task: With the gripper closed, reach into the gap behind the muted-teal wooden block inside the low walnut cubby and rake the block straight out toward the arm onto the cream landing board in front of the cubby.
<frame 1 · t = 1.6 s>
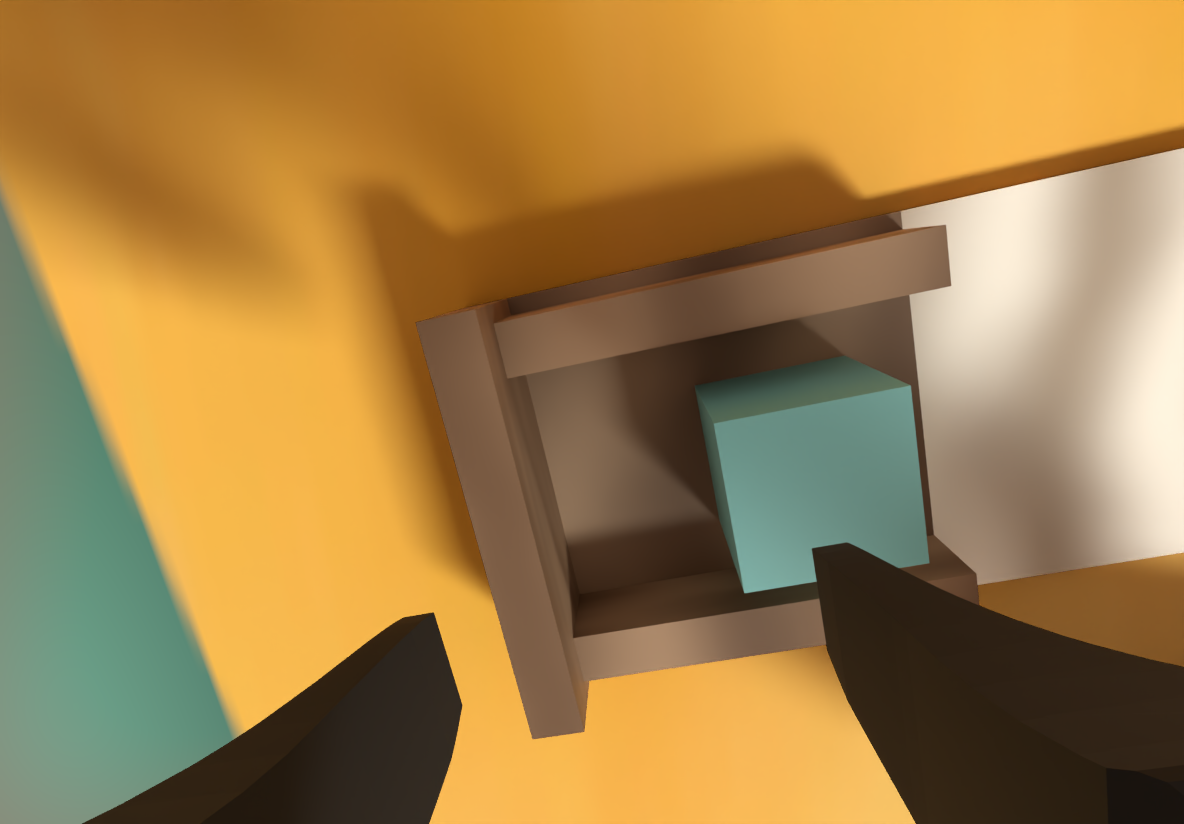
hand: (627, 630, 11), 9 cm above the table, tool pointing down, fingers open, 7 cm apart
cubby: (720, 446, 20), on the table
teal block: (779, 441, 19), point 1 cm above the table, touching cubby
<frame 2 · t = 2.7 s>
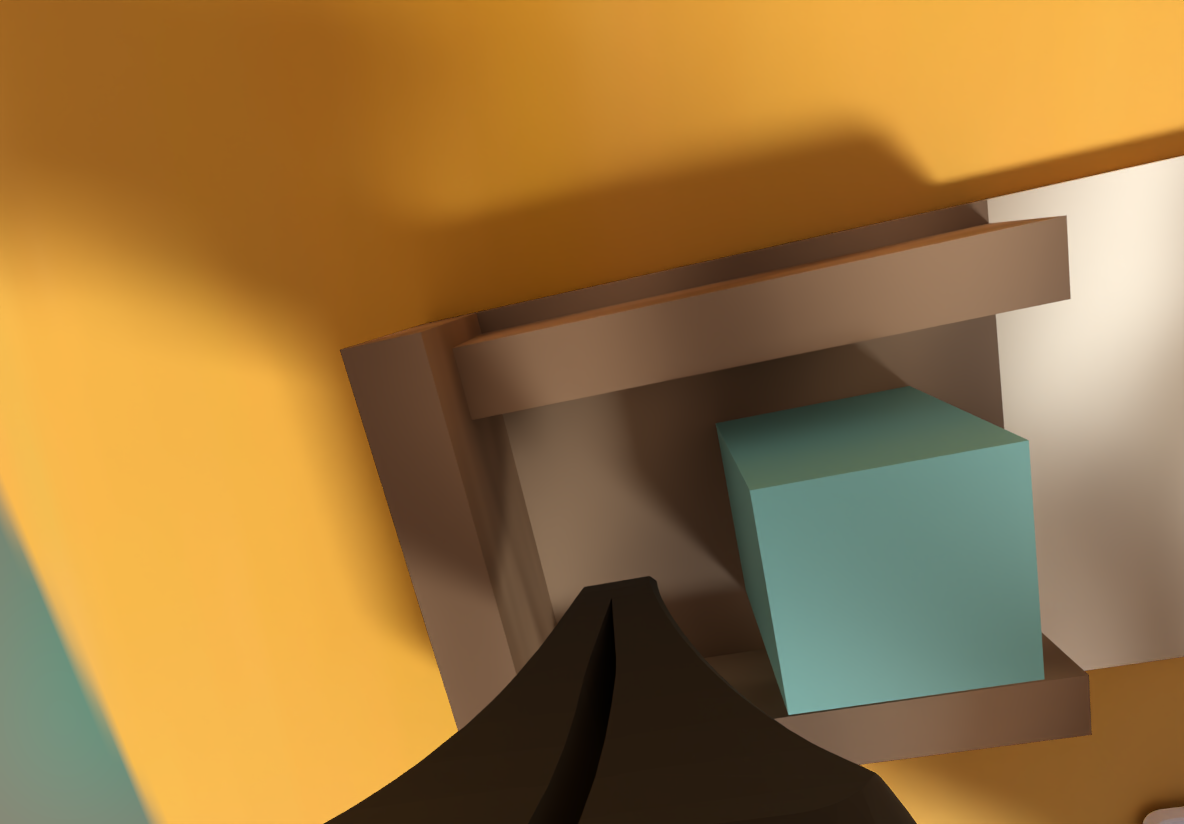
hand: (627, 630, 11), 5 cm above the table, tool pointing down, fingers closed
cubby: (747, 496, 16), on the table
teal block: (823, 493, 15), point 1 cm above the table, touching cubby
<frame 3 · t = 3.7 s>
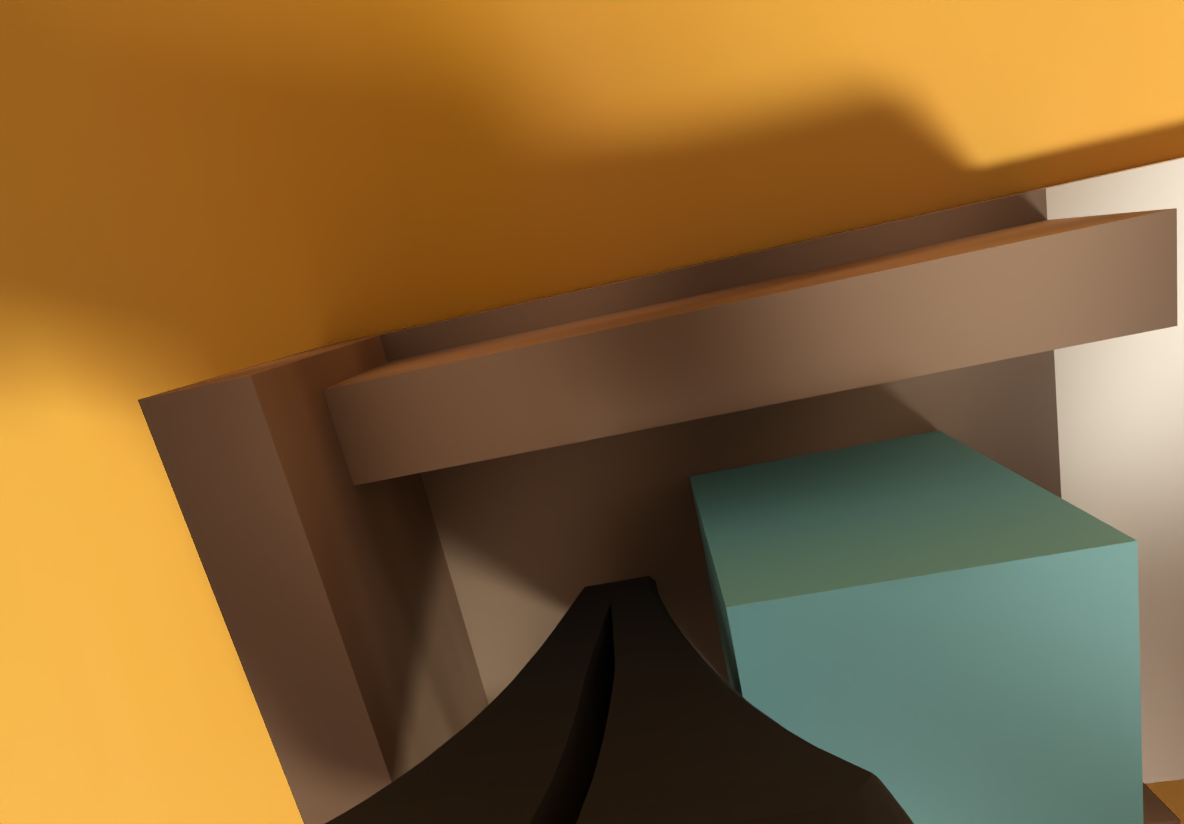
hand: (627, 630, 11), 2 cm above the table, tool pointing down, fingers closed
cubby: (731, 564, 13), on the table
teal block: (827, 564, 12), point 1 cm above the table, touching cubby, gripper
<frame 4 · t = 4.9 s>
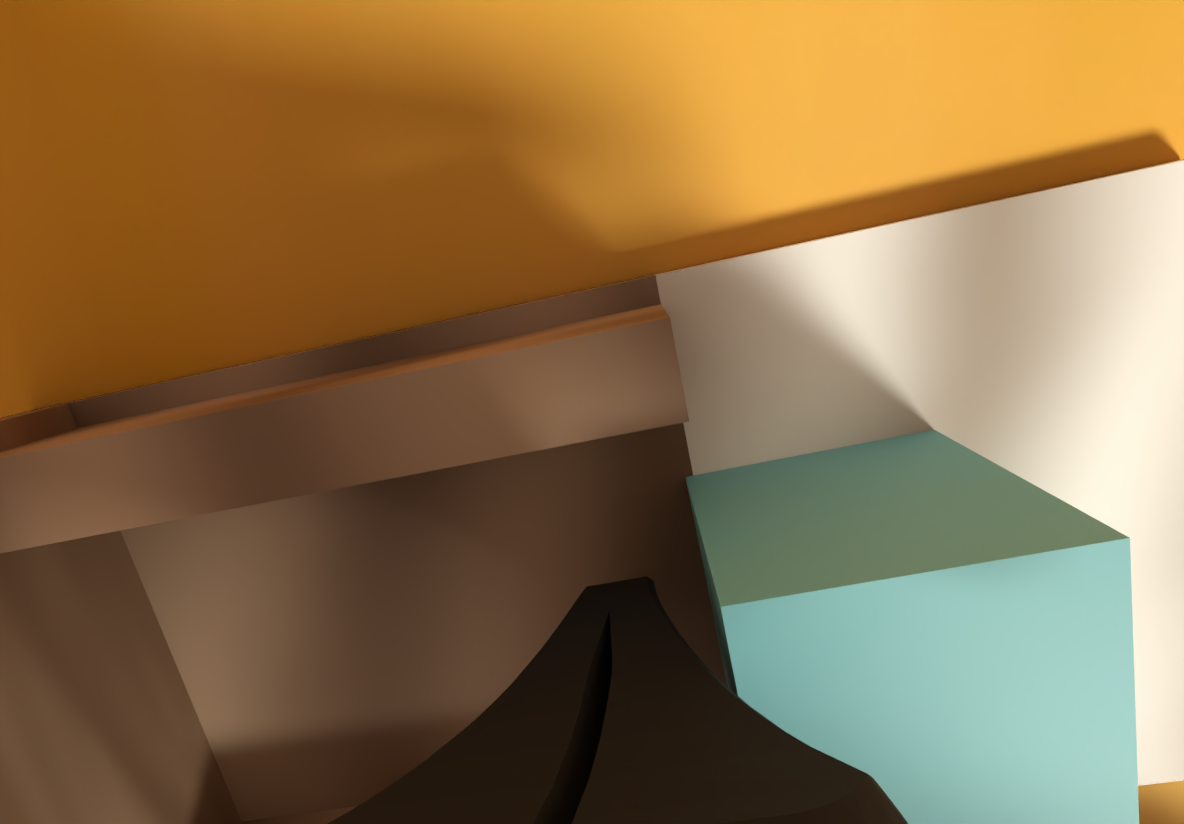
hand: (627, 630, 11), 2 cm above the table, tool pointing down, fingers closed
cubby: (430, 615, 13), on the table
teal block: (824, 564, 12), point 1 cm above the table, touching cubby, gripper
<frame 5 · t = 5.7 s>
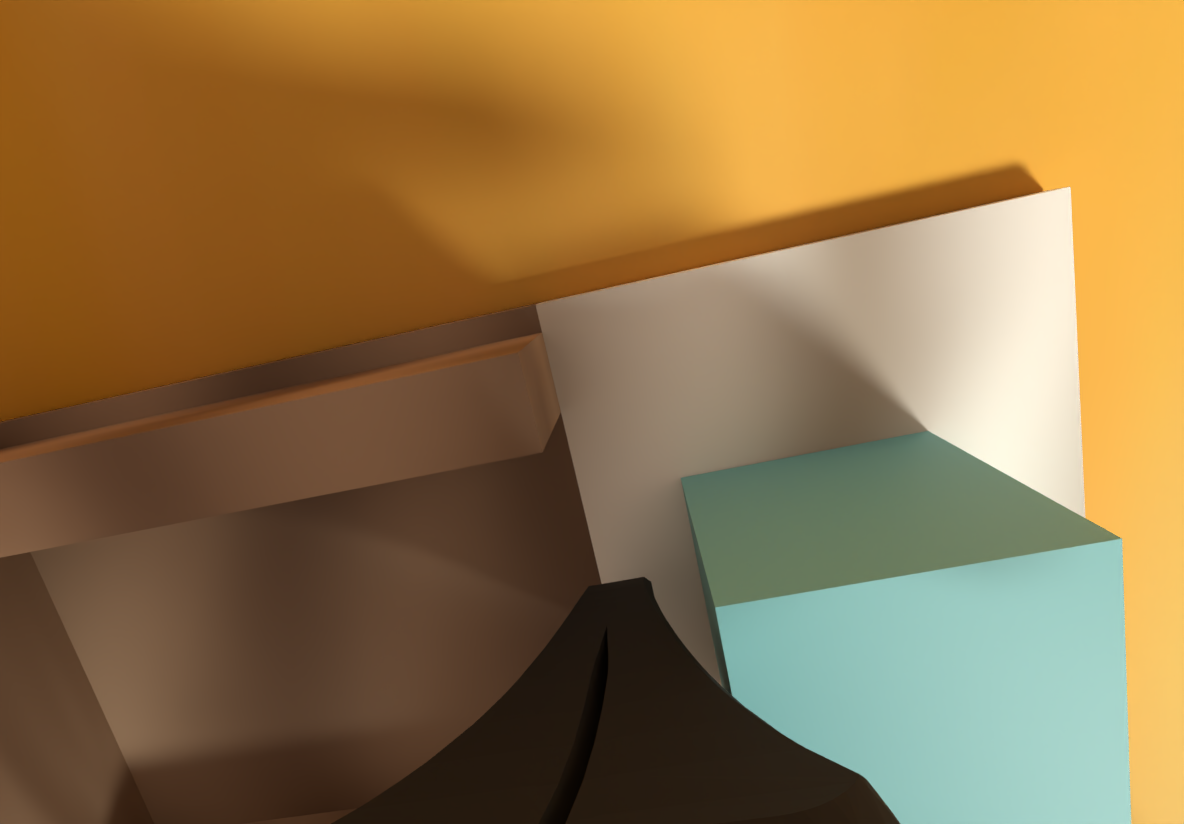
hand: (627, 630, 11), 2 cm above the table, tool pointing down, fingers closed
cubby: (338, 632, 14), on the table
teal block: (818, 564, 12), point 1 cm above the table, touching cubby, gripper
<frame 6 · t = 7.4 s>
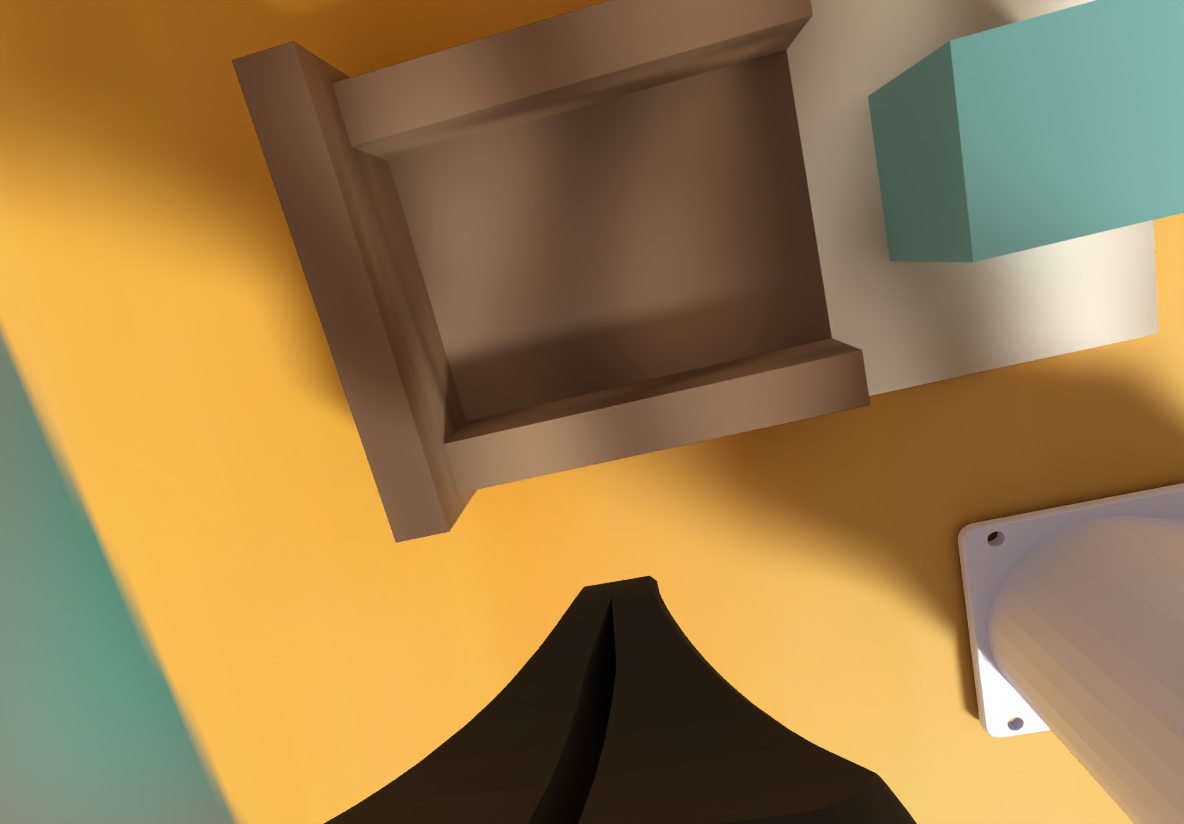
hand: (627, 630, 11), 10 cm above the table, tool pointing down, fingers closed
cubby: (605, 253, 19), on the table
teal block: (962, 159, 17), point 1 cm above the table, touching cubby
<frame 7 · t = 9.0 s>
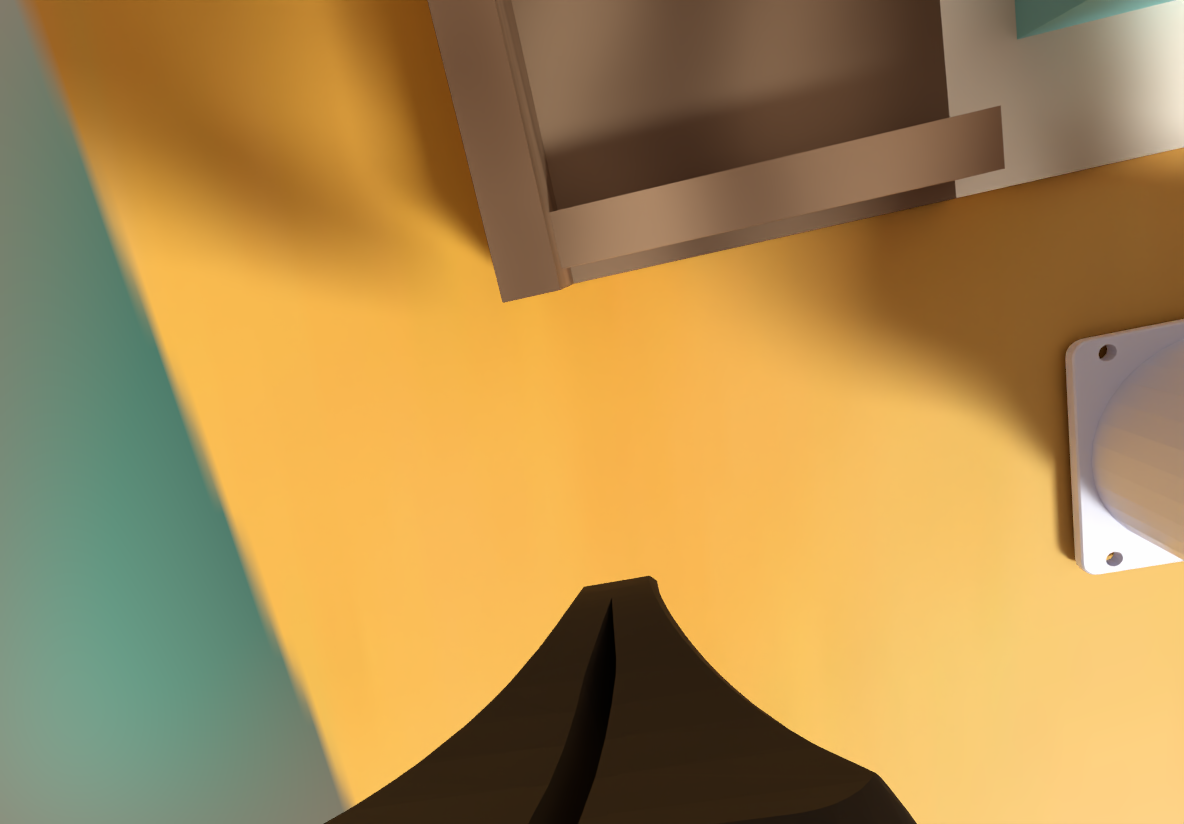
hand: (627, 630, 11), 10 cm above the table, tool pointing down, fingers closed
cubby: (714, 35, 18), on the table
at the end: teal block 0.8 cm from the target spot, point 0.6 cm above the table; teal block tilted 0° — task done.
